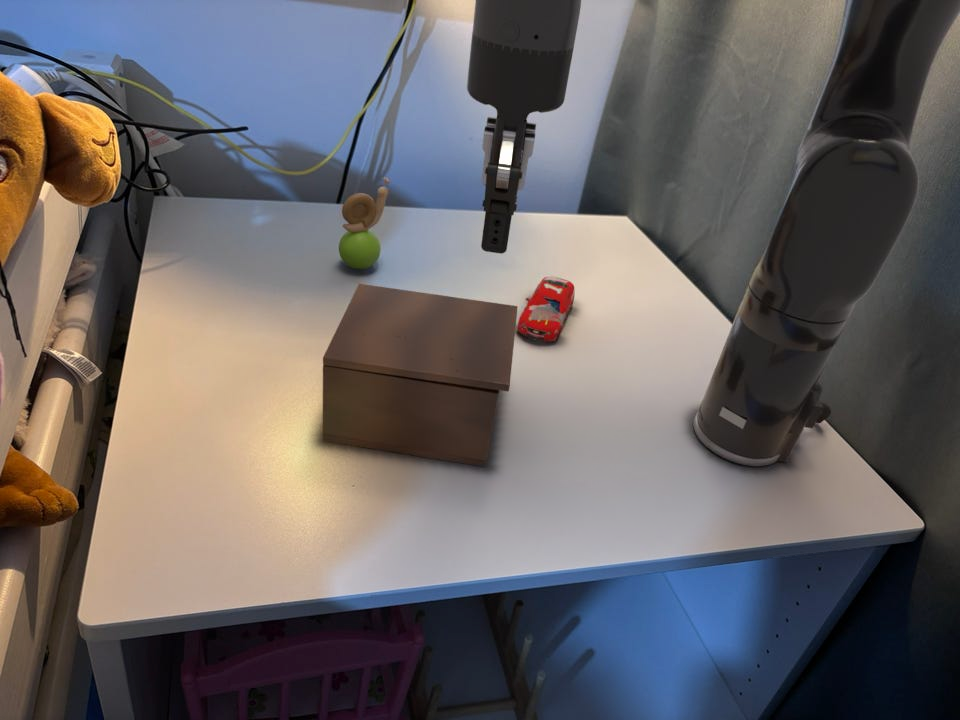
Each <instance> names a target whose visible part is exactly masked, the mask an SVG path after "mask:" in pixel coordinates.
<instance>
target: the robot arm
mask: <svg viewBox="0 0 960 720" xmlns="http://www.w3.org/2000/svg"><path fill="white" fill-rule="evenodd" d="M474 1H475V2H474V12H473V21H472V31H471V42H470V51H469V62H468V72H467V80H466V91H467V93H468V95H469V96H470V97H471V98H472V99H473V100H475V101H476V102H477V103H480V104H483V105H485V106H488V105H489V106H491V107H493V108H494V109H495V110H496V117H493V116H487V118H486V125H484V132H483V137H482V146H481V147H482V150H483V152H484V157H483V166H482V173H481V183H482V184H483V186H485V188H484V189H485V190H484V199H482V207H483V212H485V213H484V220H483V230H482V236H481V245H480V247H481V249H482V251H484V252H486V253H495V254H504V253H506V252H507V250H508V243H509V237H510V230H511V223H512V217H513V216H514V214H515V212H517V207H518V205H517V202H518V192H519V191H522V190H523V189H524V187H525V182H526V177H527V169H528V164H529V159H530V158H531V157H532V156H533V152H534V146H535V140H536V130H537V129H536V128H537V123H534V122H528V117H529V115H530V114H532V113H536V112H537V113H541V114H543V113H549V112H553V111H556V110H558V109H559V108H561V107H562V105H563V104H564V102H565V98H566V95H567V89H568V88H567V87H568V82H569V76H570V70H571V65H572V59H573V54H574V47H575V43H576V36H577V31H578V26H579V20H580V14H581V6H582V0H474ZM959 15H960V0H845V1H844V7H843V13H842V19H841V26H840V32H839V35H838V40H837V45H836V48H835V51H834V55H833V58H832V61H831V64H830V67H829V71H828V73H827V76H826V78H825V80H824V83H823V87H822V89H821V91H820V94H819V97H818V99H817V102H816V105H815V108H814V109H813V113H812V115H811V117H810V120H809V122H808V125H807V126H806V129H805V131H804V134H803V137H802V138H801V141H800V143H799V146H798V148H797V150H796V153H795V156H794V158H793V161H792V164H791V165H792V166H791V172H790V188H789V190H788V193H787V196H786V198H785V201H784V204H783V206H782V209H781V211H780V213H779V216H778V219H777V221H776V224H775V226H774V228H773V231H772V233H771V235H770V238H769V240H768V243H767V246H766V247H765V249H764V251H763V253H762V255H761V256H759V258H758V260H757V261H756V264H755V265H754V268H753V271H752V273H751V276H750V278H749V282H748V283H747V286H746V289H745V292H744V294H743V297H742V299H741V301H740V304H739V307H738V310H737V312H736V315H735V317H734V319H733V321H732V325H731V328H730V330H729V331H728V334H727V338H726V340H725V342H724V344H723V348H722V350H721V352H720V355H719V357H718V360H717V362H716V366H715V368H714V371H713V373H712V376H711V378H710V380H709V383H708V386H707V388H706V390H705V393H704V396H703V399H702V401H701V403H700V405H699V407H698V410H697V411H696V414H695V416H694V418H693V430H694V432H695V434H696V436H697V438H698V439H699V441H700V442H701V443H702V444H703V445H704V446H705V447H706V448H708V449H709V450H710V451H711V452H713V453H714V454H716V455H718V456H719V457H721V458H723V459H725V460H727V461H730V462H733V463H736V464H739V465H742V466H748V467H749V466H750V467H765V466H769V465H772V464H774V463H777V462H786V463H787V462H788V460H789V458H790V457H791V454H792V452H793V451H794V448H795V447H796V445H797V443H798V440H799V438H800V437H801V435H802V433H803V431H804V429H805V428H808V429H813V428H814V427H815V425H816V424H822V423H823V422H824V421H825V420H826V419H828V418H830V416H831V414H832V410H831V407H830V406H829V405H828V404H826V403H825V402H823V401H821V399H820V398H821V395H822V394H823V385H822V383H821V381H820V380H819V379H820V377H821V375H822V373H823V371H824V369H825V367H826V364H827V363H828V361H829V359H830V357H831V355H832V352H833V351H834V348H835V347H836V345H837V344H838V340H839V339H840V337H841V334H842V333H843V331H844V330H845V329H844V328H845V327H846V326H847V325H846V324H847V322H848V320H849V319H850V316H851V314H852V313H853V311H854V309H855V307H856V305H857V304H858V302H859V301H861V300H862V299H863V298H864V297H865V296H866V295H867V294H868V293H869V291H870V290H871V288H872V287H873V285H874V284H875V282H876V281H877V279H878V276H879V274H880V273H881V271H882V270H883V267H884V265H885V264H886V262H887V260H888V258H889V257H890V254H891V253H892V251H893V249H894V247H895V246H896V244H897V241H898V239H899V238H900V236H901V235H902V233H903V230H904V229H905V226H906V225H907V222H908V220H909V218H910V216H911V214H912V212H913V209H914V206H915V204H916V201H917V198H918V195H919V190H920V176H919V170H918V166H917V162H916V161H915V158H914V156H913V154H912V152H911V151H910V148H911V142H912V136H913V131H914V126H915V124H916V119H917V115H918V111H919V108H920V105H921V100H922V98H923V94H924V91H925V87H926V84H927V80H928V78H929V75H930V72H931V69H932V66H933V64H934V62H935V59H936V58H937V57H936V56H937V55H938V52H939V50H940V48H941V46H942V44H943V42H944V40H945V38H946V36H947V35H948V33H949V31H950V30H951V28H952V26H953V24H954V23H955V21H956V19H957V18H958V17H959Z"/></svg>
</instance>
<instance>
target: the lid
mask: <svg viewBox="0 0 960 720" xmlns="http://www.w3.org/2000/svg"><path fill="white" fill-rule="evenodd" d="M351 297H352V298H351V299H350V300H349V301H350V302H349V303H348V305H347V307H346V309H345V312H344V314H343V316H342V318H341V320H340V322H339V324H338V326H337V328H336V330H335V332H334V334H333V336H332V337H331V340H330V342H329V344H328V346H327V348H326V350H325V352H324V355H323V357H322V366H323V365H327V366H334V367H341V368H348V369H355V370H362V371H369V372H376V373H383V374H390V375H396V376H403V377H410V378H417V379H424V380H431V381H438V382H445V383H452V384H459V385H466V386H473V387H480V388H486V389H493V390H499V392H500V391H501V392H507V393H508V392H509V391H510V387H511V386H510V385H511V377H512V365H513V358H514V357H513V356H514V346H515V338H516V337H515V336H516V328H517V327H516V326H517V316H518V306H517V305H512V304H505V303H497V302H491V301H484V300H479V299H478V300H476V299H470V298H463V297H457V296H450V295H449V296H448V295H440V294H435V293H427V292H420V291H413V290H406V289H400V288H393V287H386V286H380V285H373V284H365V283H358V285H357V287H356V289H355V291H354V292H353V295H352V296H351Z"/></svg>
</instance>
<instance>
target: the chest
mask: <svg viewBox="0 0 960 720" xmlns="http://www.w3.org/2000/svg"><path fill="white" fill-rule="evenodd" d="M499 396H500V390H493V389H486V388H480V387H473V386H466V385H459V384H452V383H445V382H438V381H431V380H424V379H417V378H410V377H403V376H396V375H390V374H383V373H376V372H369V371H362V370H355V369H348V368H341V367H334V366H327V365H323V364H322V439H321V440H322V441H323V442H328V443H335V444H339V445H340V444H341V445H348V446H352V447H353V446H354V447H358V448H359V447H360V448H365V449H372V450H377V451H383V452H391V453H398V454H403V455H408V456H416V457H422V458H428V459H434V460H440V461H447V462H452V463H458V464H465V465H470V466H471V465H472V466H476V467H477V466H478V467H482V468H485V467H486V466H487V461H488V460H487V459H488V455H489V450H490V444H491V438H492V433H493V428H494V423H495V417H496V411H497V405H498V401H499Z"/></svg>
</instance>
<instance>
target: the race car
mask: <svg viewBox="0 0 960 720" xmlns="http://www.w3.org/2000/svg"><path fill="white" fill-rule="evenodd" d="M575 292H576V291H575V284H574V283H573V282H572V281H570V280H568V279H565V278H561V277H557V276H552V275H551V276H545V277H543V278H542V279H541V281H539V283H538V284H537V286H536V287H535V290H534V291H533V293H532V294H531V296H530V298H529V297H526V298H525V301H527V303H526V305H525V307H524V308H523V311H522V313H521V314H520V316H519V318H518V323H517V331H518V332H519V333H520V334H521V335H523V336H524V337H526V338H528V339H530V340H533V341H538V342H545V343H547V342H548V343H549V342H557V341H558V340H559V337H560V334H561V332H562V330H563V328H564V326H565V324H566V321H567V320H568V317H569V314H570V312H571V310H572V307H573V305H574V301H575Z"/></svg>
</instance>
